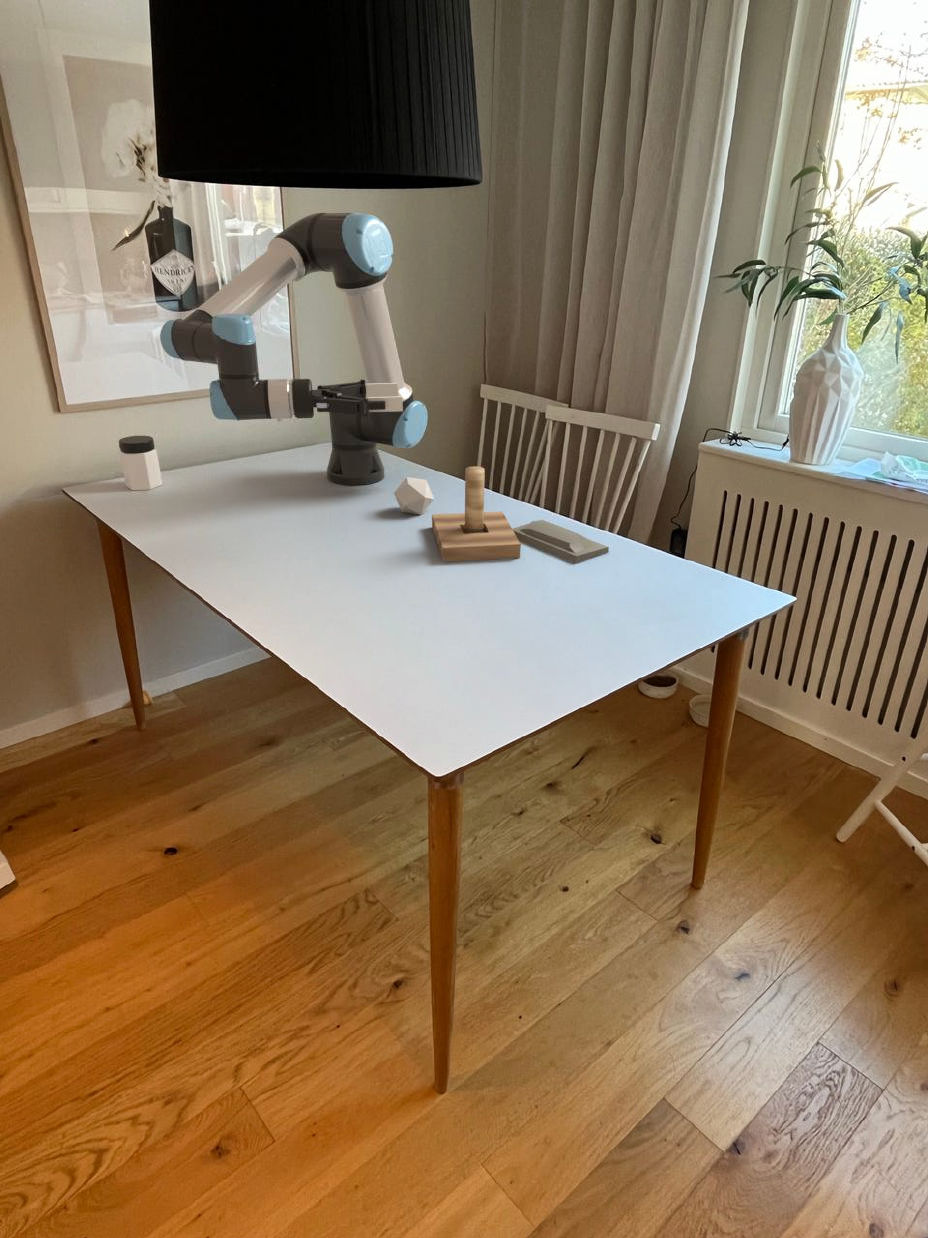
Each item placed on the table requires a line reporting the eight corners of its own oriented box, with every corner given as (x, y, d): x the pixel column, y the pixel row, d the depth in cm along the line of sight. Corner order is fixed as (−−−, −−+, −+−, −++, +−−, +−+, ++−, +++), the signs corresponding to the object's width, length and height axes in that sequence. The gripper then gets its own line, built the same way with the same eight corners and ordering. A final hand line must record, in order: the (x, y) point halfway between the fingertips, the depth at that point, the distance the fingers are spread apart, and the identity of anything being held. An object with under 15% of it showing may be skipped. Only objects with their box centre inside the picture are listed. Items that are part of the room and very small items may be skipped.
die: (439, 511, 190) (425, 474, 191) (435, 505, 181) (420, 466, 182) (407, 524, 191) (393, 487, 191) (402, 518, 182) (387, 479, 183)
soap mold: (575, 566, 161) (576, 550, 159) (507, 538, 174) (508, 523, 173) (608, 554, 167) (610, 539, 165) (541, 528, 180) (542, 513, 179)
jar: (143, 479, 209) (134, 433, 203) (168, 482, 206) (161, 436, 201) (119, 488, 201) (109, 441, 196) (145, 492, 199) (136, 445, 193)
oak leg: (463, 538, 173) (463, 466, 165) (481, 537, 173) (483, 466, 166) (465, 545, 169) (466, 472, 162) (484, 544, 169) (486, 471, 162)
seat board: (432, 527, 179) (431, 514, 177) (501, 524, 181) (502, 511, 180) (442, 561, 161) (442, 547, 160) (520, 557, 163) (520, 544, 162)
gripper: (296, 404, 170) (396, 402, 172) (291, 433, 148) (405, 430, 151) (293, 368, 166) (395, 366, 169) (287, 392, 144) (404, 389, 147)
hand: (400, 396), depth 160 cm, fingers open, 13 cm apart
